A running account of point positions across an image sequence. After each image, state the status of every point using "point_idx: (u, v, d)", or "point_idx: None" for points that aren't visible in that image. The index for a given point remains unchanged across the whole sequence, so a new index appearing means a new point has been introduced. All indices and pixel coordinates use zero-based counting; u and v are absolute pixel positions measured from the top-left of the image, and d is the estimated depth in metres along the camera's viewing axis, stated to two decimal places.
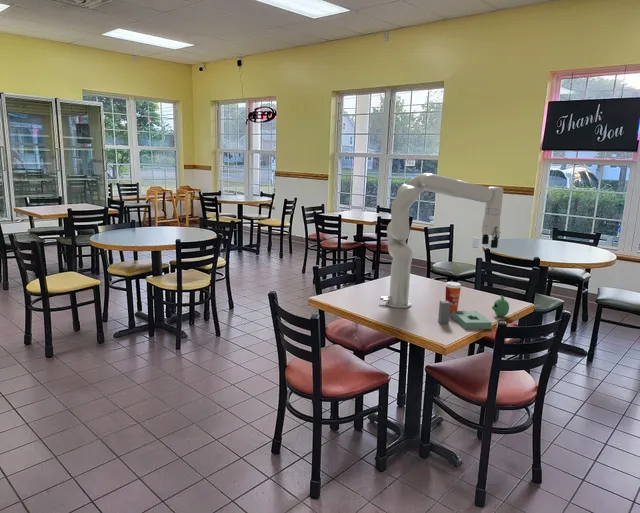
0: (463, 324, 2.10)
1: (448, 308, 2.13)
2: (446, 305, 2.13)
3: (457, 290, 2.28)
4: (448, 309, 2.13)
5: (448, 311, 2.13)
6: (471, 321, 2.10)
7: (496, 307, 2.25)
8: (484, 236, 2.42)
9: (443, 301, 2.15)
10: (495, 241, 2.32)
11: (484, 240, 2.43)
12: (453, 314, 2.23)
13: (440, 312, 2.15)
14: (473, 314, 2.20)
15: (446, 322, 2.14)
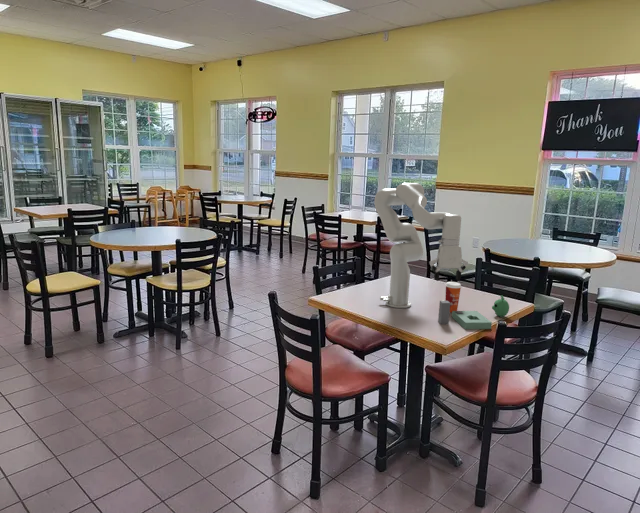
0: (463, 324, 2.10)
1: (448, 308, 2.13)
2: (446, 305, 2.13)
3: (457, 290, 2.28)
4: (448, 309, 2.13)
5: (448, 311, 2.13)
6: (471, 321, 2.10)
7: (496, 307, 2.25)
8: None
9: (443, 301, 2.15)
10: None
11: None
12: (453, 314, 2.23)
13: (440, 312, 2.15)
14: (473, 314, 2.20)
15: (446, 322, 2.14)
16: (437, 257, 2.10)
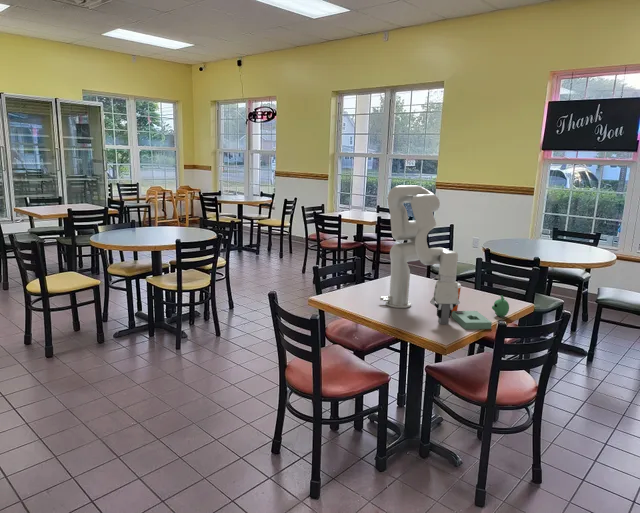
0: (463, 324, 2.10)
1: (448, 308, 2.13)
2: (446, 305, 2.13)
3: None
4: (448, 309, 2.13)
5: (448, 311, 2.13)
6: (471, 321, 2.10)
7: (496, 307, 2.25)
8: (440, 309, 2.14)
9: None
10: None
11: None
12: (453, 314, 2.23)
13: None
14: (473, 314, 2.20)
15: (446, 322, 2.14)
16: (434, 294, 2.14)
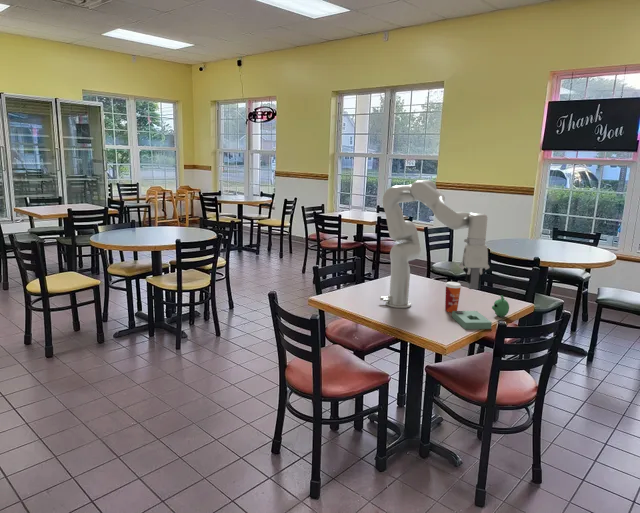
0: (463, 324, 2.10)
1: (477, 272, 2.09)
2: (475, 270, 2.08)
3: (457, 290, 2.28)
4: (477, 273, 2.09)
5: (477, 275, 2.09)
6: (471, 321, 2.10)
7: (496, 307, 2.25)
8: None
9: None
10: None
11: None
12: (453, 314, 2.23)
13: None
14: (473, 314, 2.20)
15: (475, 287, 2.10)
16: (463, 258, 2.10)
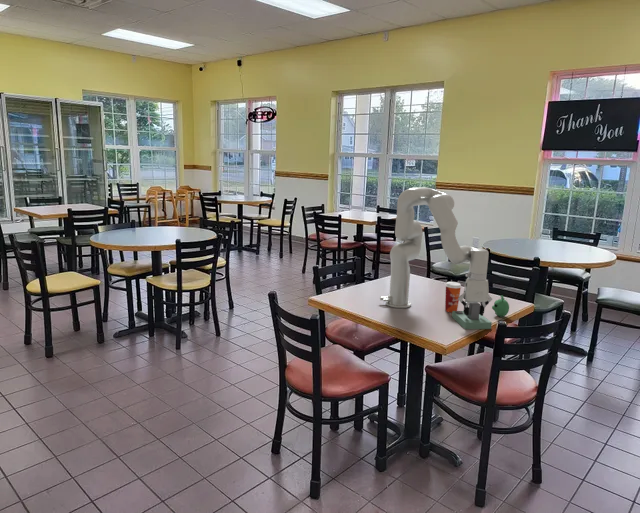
0: (463, 324, 2.10)
1: (478, 310, 2.12)
2: (475, 307, 2.12)
3: (457, 290, 2.28)
4: (478, 311, 2.12)
5: (478, 313, 2.13)
6: (471, 321, 2.10)
7: (496, 307, 2.25)
8: (468, 307, 2.13)
9: (473, 302, 2.14)
10: None
11: None
12: (453, 314, 2.23)
13: (470, 314, 2.14)
14: None
15: None
16: (464, 291, 2.13)
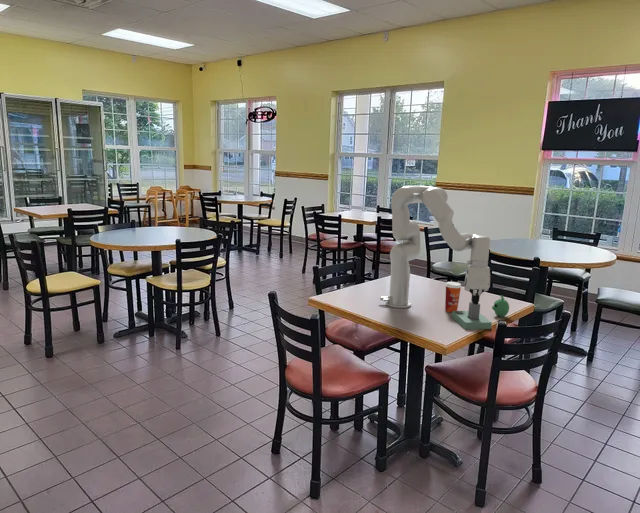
0: (463, 324, 2.10)
1: (478, 310, 2.12)
2: (475, 307, 2.12)
3: (457, 290, 2.28)
4: (478, 311, 2.12)
5: (478, 313, 2.13)
6: (471, 321, 2.10)
7: (496, 307, 2.25)
8: None
9: (473, 303, 2.14)
10: None
11: None
12: (453, 314, 2.23)
13: (470, 314, 2.14)
14: None
15: None
16: (466, 280, 2.12)
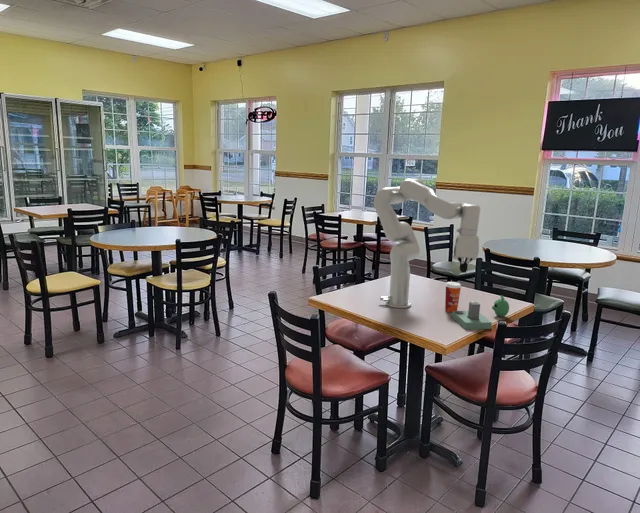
0: (463, 324, 2.10)
1: (478, 309, 2.12)
2: (475, 307, 2.12)
3: (457, 290, 2.28)
4: (478, 311, 2.12)
5: (478, 313, 2.13)
6: (471, 321, 2.10)
7: (496, 307, 2.25)
8: None
9: (473, 302, 2.14)
10: None
11: None
12: (453, 314, 2.23)
13: (470, 313, 2.14)
14: None
15: None
16: (455, 248, 2.14)
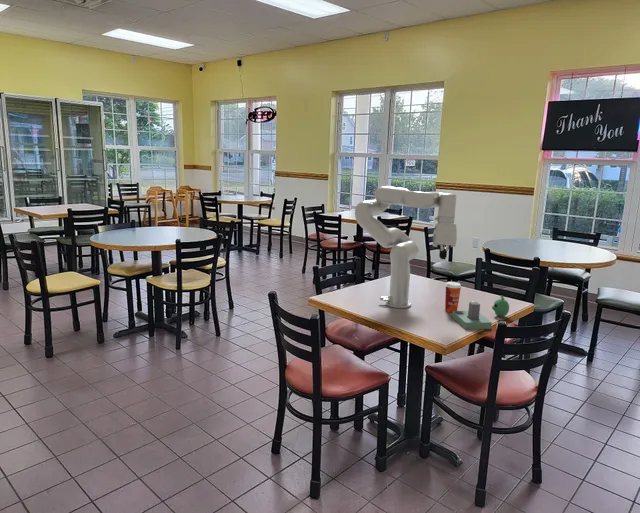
0: (463, 324, 2.10)
1: (478, 309, 2.12)
2: (475, 307, 2.12)
3: (457, 290, 2.28)
4: (478, 310, 2.12)
5: (478, 313, 2.13)
6: (471, 321, 2.10)
7: (496, 307, 2.25)
8: (443, 250, 2.22)
9: (473, 302, 2.14)
10: None
11: None
12: (453, 314, 2.23)
13: (470, 313, 2.14)
14: None
15: None
16: (434, 236, 2.22)
